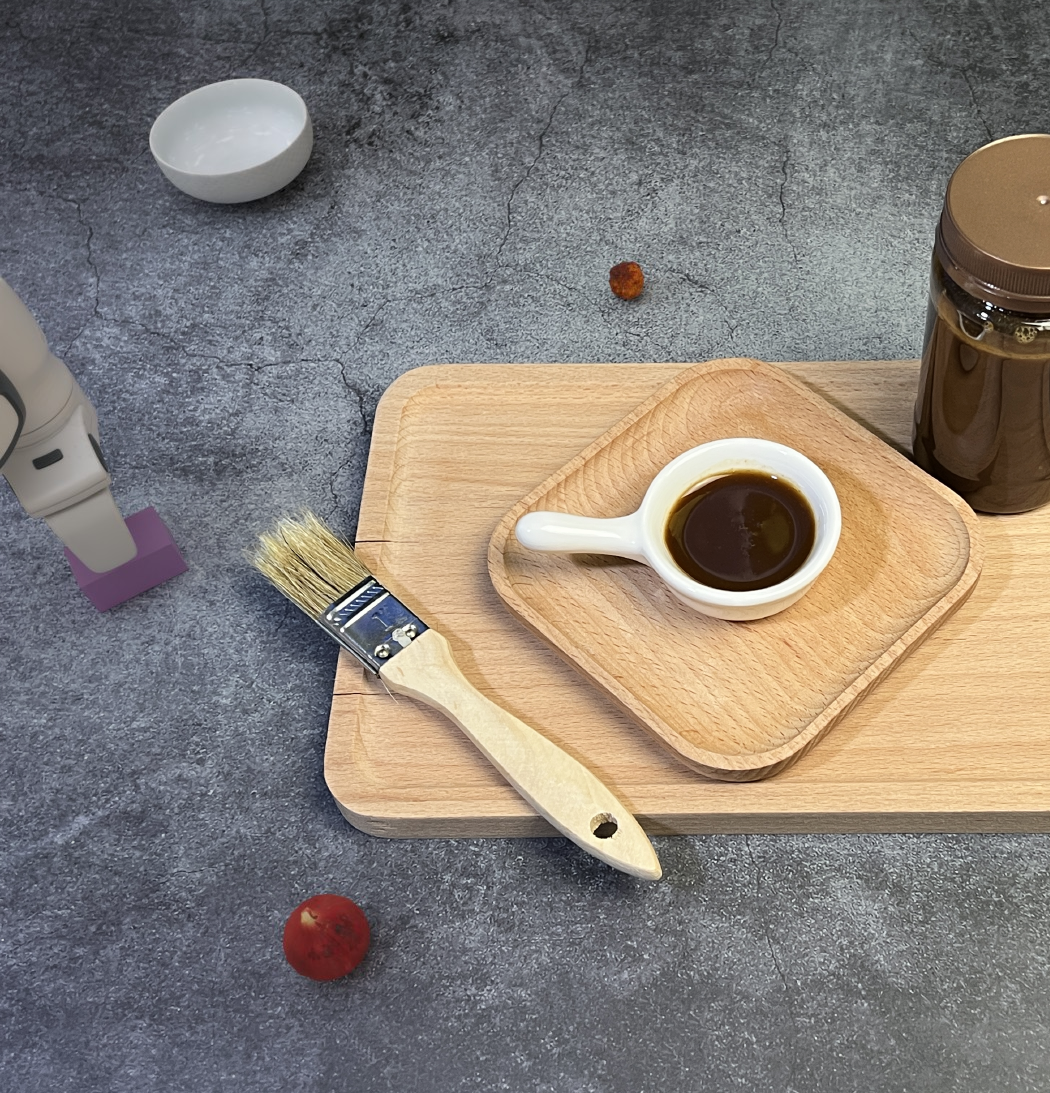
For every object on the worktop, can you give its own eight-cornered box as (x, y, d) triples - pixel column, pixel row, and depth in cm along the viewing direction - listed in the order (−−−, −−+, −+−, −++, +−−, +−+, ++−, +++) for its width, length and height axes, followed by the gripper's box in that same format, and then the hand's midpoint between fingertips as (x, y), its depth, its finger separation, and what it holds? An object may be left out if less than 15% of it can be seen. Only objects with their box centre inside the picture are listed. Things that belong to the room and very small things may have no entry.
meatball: (640, 279, 132) (636, 249, 129) (650, 302, 130) (646, 273, 127) (606, 288, 132) (601, 258, 129) (616, 311, 130) (611, 282, 127)
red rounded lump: (395, 927, 95) (365, 889, 88) (359, 1004, 92) (326, 970, 85) (324, 904, 96) (290, 865, 89) (287, 980, 93) (248, 944, 86)
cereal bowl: (356, 153, 146) (338, 99, 140) (262, 245, 138) (238, 193, 132) (240, 113, 151) (217, 60, 145) (141, 200, 143) (114, 147, 137)
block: (83, 573, 114) (62, 548, 111) (170, 531, 116) (152, 504, 113) (100, 613, 112) (79, 588, 108) (189, 569, 114) (171, 543, 111)
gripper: (-41, 359, 107) (38, 463, 119) (30, 523, 97) (109, 620, 109) (34, 327, 109) (105, 432, 120) (111, 485, 99) (181, 584, 110)
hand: (108, 523), depth 114 cm, fingers closed
